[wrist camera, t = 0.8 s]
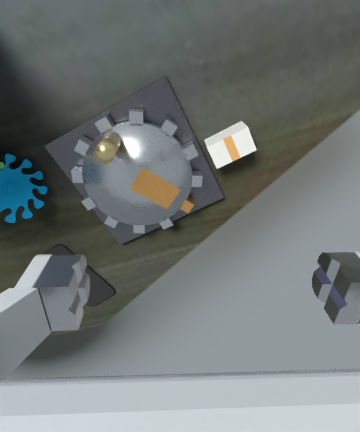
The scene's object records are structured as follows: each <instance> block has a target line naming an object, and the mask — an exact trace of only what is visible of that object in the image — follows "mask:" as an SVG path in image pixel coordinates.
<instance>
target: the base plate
mask: <svg viewBox="0 0 360 432" xmlns="http://www.w3.org/2000/svg"><path fill="white" fill-rule="evenodd" d="M130 109H144V121H147V122H151V123H154V124H157V125H159V126H161V125H162V123H163V122H164V120H165V118H166V117H168V118H170V119H171V120H173V121H174V122H176V123H177V124H178V128H177V129H176V131H175V132H174V134H173V135H174V136H175V137H176V138H177V139H178V140H179V141H180V142H181V143H182V145H184V144H186V143H188V142H190V141H193V143H194V145H195V147H196V149H197V151H198V154H199V156H197V157H195V158H193V159H191V160H190V164H191V170H192V171H202V175H203V177H202V187H191V190H190V193H189V195H188V196H189V197H191V198H192V199H194V206H193V208H192V209H191V210H190V212H189V213H192V212H194V211H196V210H198V209H200V208H203V207H205V206H207V205H209V204H211V203H214V202H216V201H218V200H220V199H222V198H224V196H223V193H222V191H221V189H220V187H219V185H218V183H217V181H216V179H215V177H214V175H213V173H212V171H211V169H210V167H209V165H208V162H207V160H206V158H205V156H204V154H203V152H202V150H201V148H200V146H199V144H198V142H197V140H196V138H195V136H194V134H193V132H192V129H191V127H190V125H189V123H188V121H187V119H186V117H185V115H184V113H183V111H182V109H181V107H180V105H179V103H178V101H177V99H176V96H175V94H174V92H173V90H172V88H171V86H170V84H169V82H168V80H167V78H166V76H164V77H162V78H160V79H159V80H157V81H155V82H153V83H152V84H150V85H148V86H146V87H145V88H143V89H141V90H140V91H138V92H136V93H134V94H133V95H131V96H129V97H127V98H126V99H124V100H122V101H121V102H119V103H117V104H115V105H114V106H112V107H110V108H108V109H107V110H105V111H103V112H102V113H100V114H98V115H96V116H95V117H93V118H91V119H89V120H88V121H86V122H84V123H82V124H81V125H79V126H77V127H76V128H74V129H72V130H70V131H69V132H67V133H65V134H63V135H62V136H60V137H58V138H57V139H55V140H53V141H51V142H50V143H48V144H46V145H45V146H44V147H45V148H46V149H47V151H48V152H49V153H50V155H51V156H52V157H53V159H54V160H55V161H56V162H57V164H58V165H59V166H60V168H61V169H62V170H63V172H64V173H65V174H66V175H67V177H68V178H69V179H70V181H71V182H72V183H73V181H72V174H71V171H72V169H73V168H74V167H75V166H82V165H83V160H84V156H83V155H81V154H80V153H78V152H76V151H74V149H75V147H76V145H77V143H78V141H79V139H80V138H81V137H82V136H85V137H86V138H88V139H90V140H92V141H94V140H95V138H96V137H97V136H98V135H99V134H100V131H99V130H98V128H97V127H96V125H95V124H94V123H95V122H96V121H97V120H98V119H100V118H102V117H104V116H105V115H107V114H109V115H110V117H111V119H112V120H113V122H114V123H115V124H116V123H120V122H123V121H129V111H130ZM73 185H74V186H75V187H76V188H77V190H78V191H79V192H80V194H81V195H82V196H83V197H84V196H85V195H87V194H88V193H87V191H86V189H85V186H84V183H73ZM92 209H93V210H94V212H95V213H96V214H97V216H98V217H99V218H100V220H101V221H102V222H103V223H104V222H105V220H106V217H107V215H106V214H105V213H103V212H102V211H101V210H100V209H99V208H98V207H97V206H96V207H94V208H92ZM189 213H186V212H184V211H183V210H181V209H179V210H178V211H177V212H176V213H175V214H174V215H172V218H173V221H174V220H176V219H178V218H181V217H183V216H185V215H187V214H189ZM104 225H105V226H106V227H107V229H108V230H109V231H110V232H111V234H112V235H113V236H114V238H115V239H116V240H117V242H118V243H119V244H120V245H121V244H123V243H126V242H128V241H130V240H132V239H134V238H137V237H139V236H141V235H143V234H145V233H148V232H150V231H152V230H154V229H156V228H159V227H161V225H160V223H155V224H151V225H146V227H145V233H134V231H133V225H130V224H126V223H122V222H118V223H117V225H116V226H115V228H113V227H111V226H109V225H107V224H105V223H104Z"/></svg>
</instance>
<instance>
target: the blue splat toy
mask: <svg viewBox="0 0 360 432" xmlns="http://www.w3.org/2000/svg"><path fill="white" fill-rule="evenodd" d="M4 159H5V165H4V163H3V162H0V212H1V211H3V210H4V209H6V208H10V209H11V210H12V212H11V214H9V215H7V216H6V217H5V221H6V222H10V223H15V221H16V218H15V213H16V211H17V209H18V207H20V206H23V207H24V211H23V213H22V217H23V218H24V219H27V218H31V217H32V216H33V215H32V213H31V212H30V210H29V209H28V200H29V199H32V200H33V201H34V207H35V208H37V209H39V208H41V207H42V206H43V205H44V202H43V201H41V200H38V199H37V198H35V196H34V195H33V193H32V189H34V188H35V189H37V190H38V192H39V193H40V194H46V192H47V187H46V186H36V185H34V184H32V183H31V182H30V178H31V177H33V178H35V179H37V180H41V179H43V174H42V172H41V171H37V172H35V173H34V174H31V175H25V174H23V173H22V172H21V169H22V168H30V167H32V163H31V162H30V161H29V160H28V159H25V160H23V161H22V164H21V165H20V166H19V167H18V168H16V169H14V170H12V169H10V168H9V164H10V163H12V162H14V161H15V159H16V157H15V156H13V155H11V154H6V155H5V157H4Z"/></svg>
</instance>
